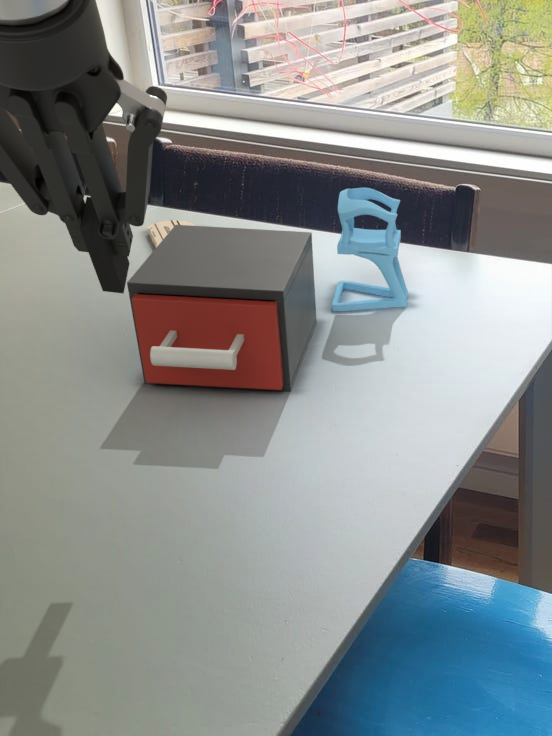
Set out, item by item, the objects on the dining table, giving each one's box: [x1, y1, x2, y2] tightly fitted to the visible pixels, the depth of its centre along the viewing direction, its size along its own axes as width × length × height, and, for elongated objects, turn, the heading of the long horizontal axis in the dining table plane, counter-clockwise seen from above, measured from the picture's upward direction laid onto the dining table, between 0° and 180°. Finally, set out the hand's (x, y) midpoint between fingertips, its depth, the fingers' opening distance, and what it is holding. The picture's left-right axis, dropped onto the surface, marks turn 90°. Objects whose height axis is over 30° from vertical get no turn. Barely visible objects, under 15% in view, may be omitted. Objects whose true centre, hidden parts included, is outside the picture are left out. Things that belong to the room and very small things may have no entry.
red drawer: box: [132, 294, 284, 391], centre depth 94 cm, size 21×13×8 cm, turn 179°
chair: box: [331, 187, 409, 312], centre depth 109 cm, size 8×8×12 cm
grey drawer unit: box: [126, 225, 317, 392], centre depth 97 cm, size 17×14×10 cm
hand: (116, 276), depth 73 cm, fingers closed
